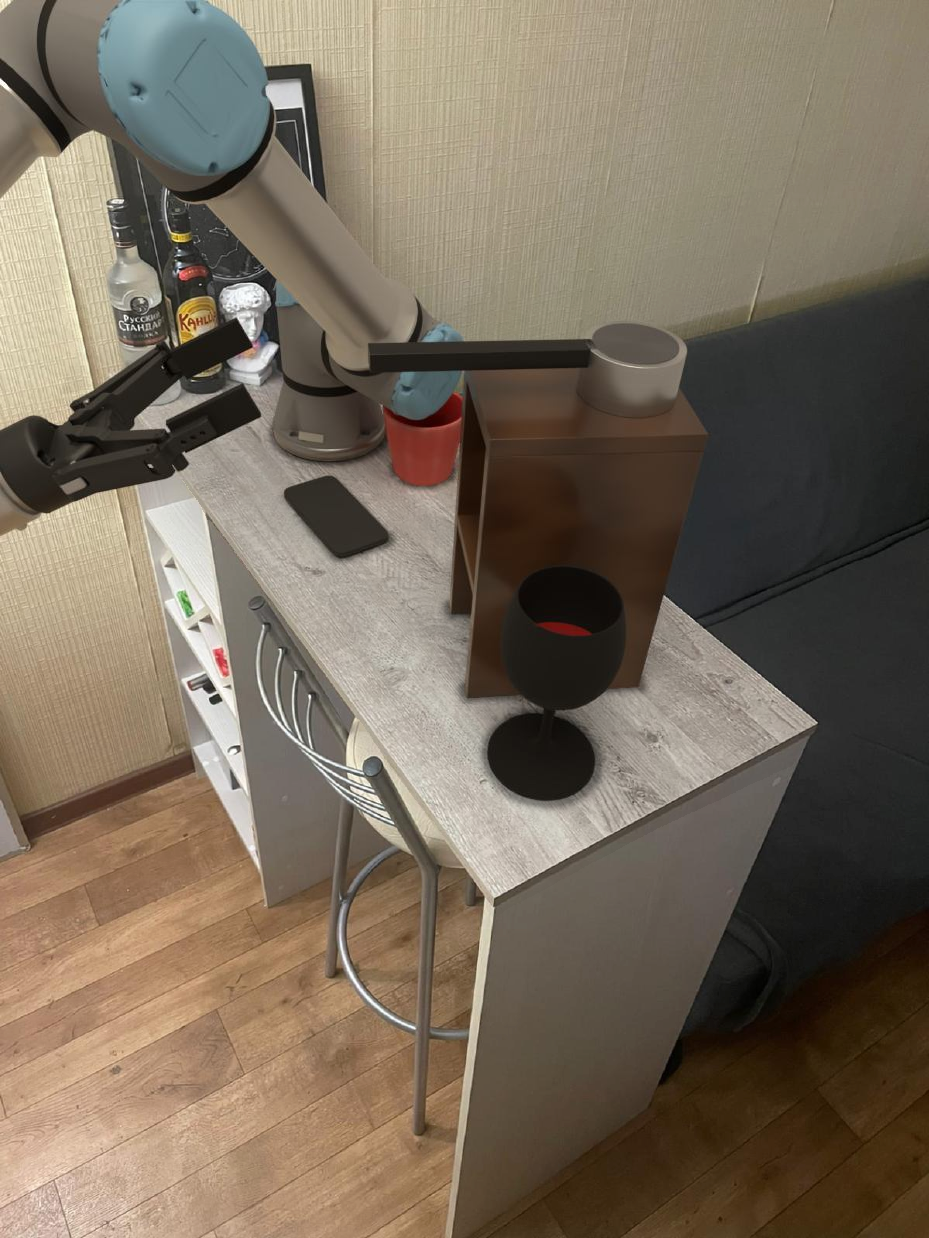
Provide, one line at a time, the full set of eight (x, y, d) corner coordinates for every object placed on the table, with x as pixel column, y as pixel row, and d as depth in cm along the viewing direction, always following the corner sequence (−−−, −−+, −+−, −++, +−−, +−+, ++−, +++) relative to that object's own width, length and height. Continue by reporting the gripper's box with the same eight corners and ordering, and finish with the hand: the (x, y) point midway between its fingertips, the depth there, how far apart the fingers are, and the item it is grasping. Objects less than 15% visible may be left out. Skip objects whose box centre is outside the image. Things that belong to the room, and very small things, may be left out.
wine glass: (589, 811, 82) (630, 655, 69) (477, 788, 83) (495, 630, 70) (600, 726, 90) (638, 570, 76) (497, 706, 91) (516, 549, 77)
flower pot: (479, 478, 121) (485, 413, 114) (410, 502, 116) (411, 436, 109) (435, 440, 127) (438, 377, 120) (367, 462, 122) (366, 397, 115)
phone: (337, 555, 106) (280, 489, 114) (337, 560, 106) (280, 494, 115) (392, 535, 109) (332, 473, 118) (392, 541, 109) (332, 478, 118)
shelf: (466, 698, 92) (490, 439, 71) (449, 605, 102) (465, 356, 81) (638, 687, 94) (708, 434, 74) (604, 597, 104) (658, 354, 84)
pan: (373, 427, 72) (373, 373, 69) (365, 374, 78) (364, 324, 75) (689, 416, 76) (702, 365, 73) (657, 367, 82) (668, 319, 79)
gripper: (65, 441, 87) (262, 344, 86) (28, 596, 68) (281, 475, 67) (11, 375, 82) (220, 271, 81) (-43, 521, 63) (228, 390, 62)
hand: (248, 363), depth 74 cm, fingers open, 13 cm apart
